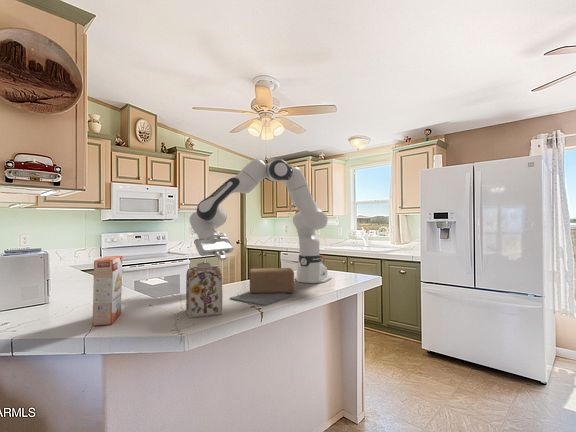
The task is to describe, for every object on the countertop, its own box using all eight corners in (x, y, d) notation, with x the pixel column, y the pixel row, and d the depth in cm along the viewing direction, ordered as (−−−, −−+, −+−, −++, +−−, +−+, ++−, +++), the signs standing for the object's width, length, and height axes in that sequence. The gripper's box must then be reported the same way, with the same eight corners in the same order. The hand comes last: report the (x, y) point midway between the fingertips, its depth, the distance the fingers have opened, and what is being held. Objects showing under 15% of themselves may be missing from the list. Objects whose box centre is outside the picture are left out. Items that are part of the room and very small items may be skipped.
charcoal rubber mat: (260, 290, 151) (260, 289, 151) (293, 295, 140) (293, 294, 140) (229, 299, 134) (229, 297, 134) (264, 306, 123) (264, 304, 123)
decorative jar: (185, 309, 119) (186, 261, 119) (217, 306, 123) (217, 260, 123) (188, 318, 108) (188, 265, 108) (222, 315, 112) (222, 264, 112)
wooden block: (249, 294, 140) (294, 293, 143) (249, 271, 140) (294, 270, 143) (249, 289, 150) (291, 288, 153) (249, 268, 150) (291, 267, 153)
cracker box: (113, 325, 101) (113, 259, 101) (91, 326, 99) (92, 260, 100) (122, 312, 115) (123, 255, 115) (103, 314, 113) (104, 255, 113)
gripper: (195, 234, 147) (209, 257, 141) (227, 233, 164) (241, 253, 158) (189, 244, 149) (203, 266, 144) (221, 241, 166) (234, 261, 160)
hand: (223, 259), depth 151 cm, fingers closed
